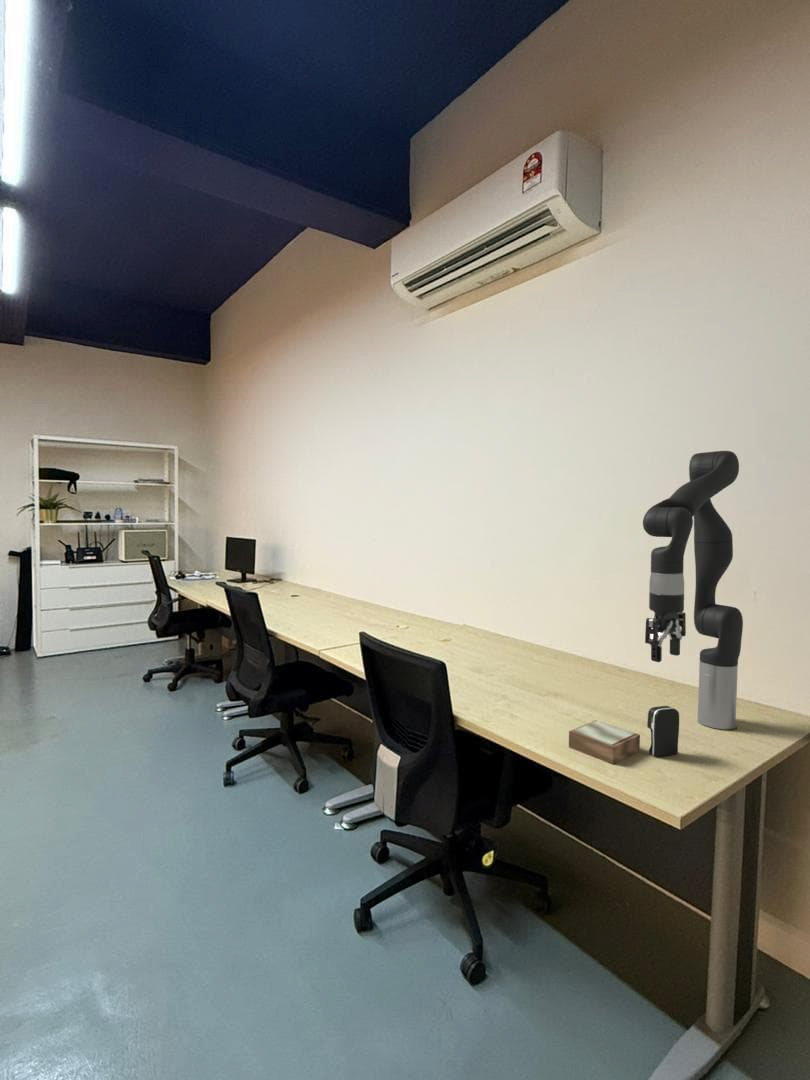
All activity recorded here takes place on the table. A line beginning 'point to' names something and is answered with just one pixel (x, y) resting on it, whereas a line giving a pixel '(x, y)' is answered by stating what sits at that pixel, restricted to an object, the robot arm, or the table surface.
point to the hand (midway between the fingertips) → (665, 658)
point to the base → (604, 741)
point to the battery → (663, 730)
